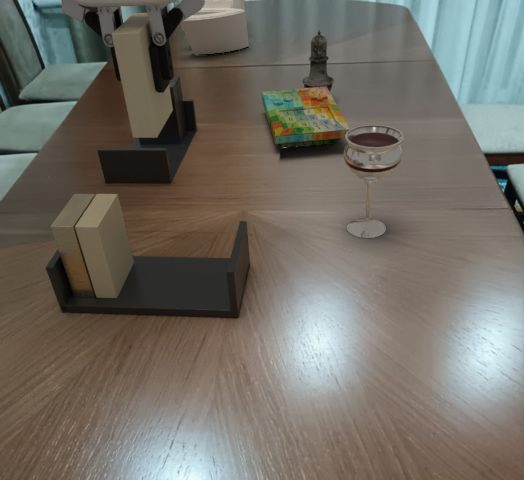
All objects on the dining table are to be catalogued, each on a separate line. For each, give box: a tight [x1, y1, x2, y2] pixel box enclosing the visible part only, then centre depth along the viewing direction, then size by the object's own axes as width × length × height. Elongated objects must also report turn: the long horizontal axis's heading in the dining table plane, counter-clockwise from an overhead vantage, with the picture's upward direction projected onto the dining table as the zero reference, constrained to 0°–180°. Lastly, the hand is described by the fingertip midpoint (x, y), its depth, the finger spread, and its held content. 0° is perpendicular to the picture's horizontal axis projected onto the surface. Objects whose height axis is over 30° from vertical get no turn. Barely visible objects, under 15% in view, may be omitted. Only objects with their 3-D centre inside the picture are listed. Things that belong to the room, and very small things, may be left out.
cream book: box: [112, 12, 173, 139], centre depth 54 cm, size 2×7×9 cm, turn 174°
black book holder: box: [45, 193, 251, 319], centre depth 63 cm, size 20×10×10 cm, turn 84°
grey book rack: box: [96, 75, 198, 185], centre depth 89 cm, size 20×10×10 cm, turn 174°
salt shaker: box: [301, 29, 335, 93], centre depth 104 cm, size 6×6×12 cm
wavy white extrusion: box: [179, 0, 250, 55], centre depth 139 cm, size 35×16×11 cm, turn 1°
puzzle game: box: [260, 86, 351, 149], centre depth 96 cm, size 12×5×20 cm
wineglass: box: [343, 124, 405, 239], centre depth 70 cm, size 7×7×12 cm
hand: (147, 86), depth 55 cm, fingers closed on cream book, 2 cm apart
